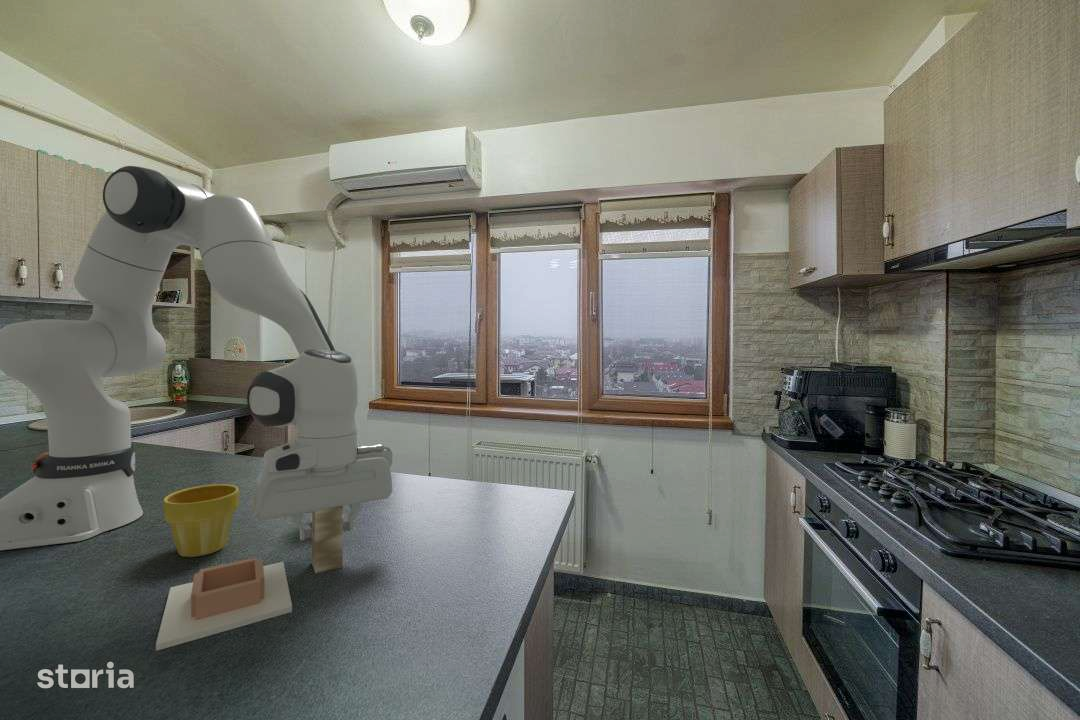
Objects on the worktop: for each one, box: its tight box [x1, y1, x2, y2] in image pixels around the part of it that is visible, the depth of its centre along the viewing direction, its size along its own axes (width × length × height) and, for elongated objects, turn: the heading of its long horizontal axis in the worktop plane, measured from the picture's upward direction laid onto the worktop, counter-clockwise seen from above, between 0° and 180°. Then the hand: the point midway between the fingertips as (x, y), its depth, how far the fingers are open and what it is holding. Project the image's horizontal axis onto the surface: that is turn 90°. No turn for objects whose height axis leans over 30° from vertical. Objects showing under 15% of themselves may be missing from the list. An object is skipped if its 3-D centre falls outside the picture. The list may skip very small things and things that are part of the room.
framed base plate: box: [155, 556, 293, 651], centre depth 61 cm, size 14×14×4 cm
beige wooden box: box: [311, 506, 344, 574], centre depth 72 cm, size 4×4×10 cm
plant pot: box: [162, 483, 240, 558], centre depth 76 cm, size 10×10×10 cm
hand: (327, 534), depth 72 cm, fingers open, 5 cm apart
